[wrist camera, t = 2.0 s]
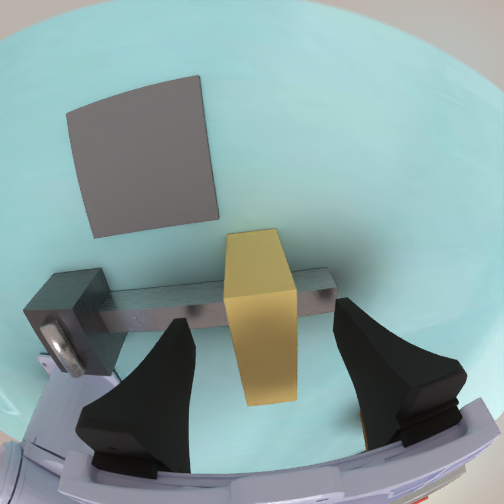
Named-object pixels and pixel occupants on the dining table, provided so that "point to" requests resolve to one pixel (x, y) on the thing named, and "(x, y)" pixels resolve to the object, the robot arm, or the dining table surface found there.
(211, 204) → the rubber mat
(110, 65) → the dining table surface
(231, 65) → the dining table surface
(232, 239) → the yellow pull handle
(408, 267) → the dining table surface
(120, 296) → the grey block with bar
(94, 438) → the robot arm
